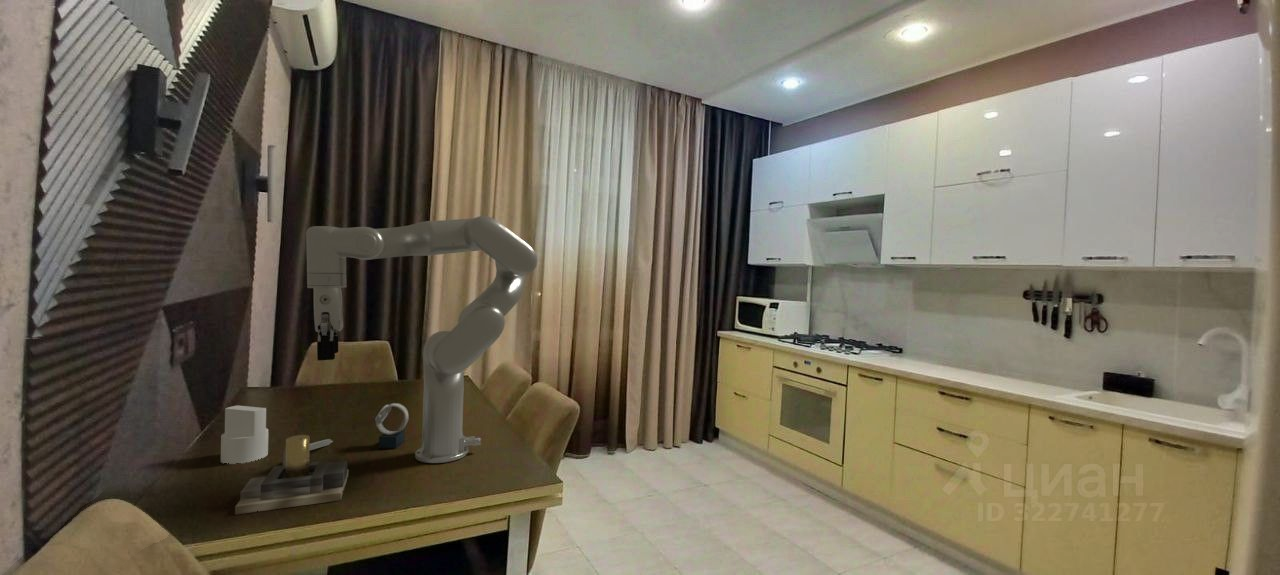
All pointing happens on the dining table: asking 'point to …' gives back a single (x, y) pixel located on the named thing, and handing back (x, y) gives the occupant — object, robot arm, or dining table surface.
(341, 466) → the gray stepped fixture base
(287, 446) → the brass pin
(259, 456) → the cylinder with rectangular tab
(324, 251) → the robot arm
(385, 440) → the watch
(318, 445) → the caliper
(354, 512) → the dining table surface
